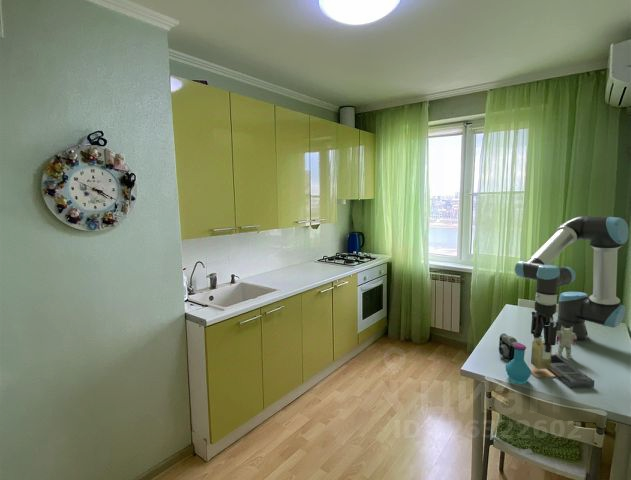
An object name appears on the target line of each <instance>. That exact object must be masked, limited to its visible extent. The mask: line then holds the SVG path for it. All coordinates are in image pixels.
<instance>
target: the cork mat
mask: <svg viewBox="0 0 631 480" xmlns="http://www.w3.org/2000/svg"><path fill="white" fill-rule="evenodd" d="M528 367H529V368H530V370H531V375H532V376H534V377H535V378H537V379H539V378H540V379H541V378H548V379H550V378H553V379H554V378H557V377H556V376H555V375H554V374H552V373H551V372H550V371H549V370H547V369H538V368H536V367H535V366H528Z"/></svg>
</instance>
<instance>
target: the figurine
mask: <svg viewBox="0 0 631 480" xmlns="http://www.w3.org/2000/svg"><path fill="white" fill-rule="evenodd" d="M561 330H562V331H557V333H556V345H558V349H557V351H555V354H556V355H558V356H559V357H561V358H562V356H563V353H564V348H565V353H564V354H565V357H566V358H568V359H572V355H571V354H572V346H573V347H576V346H577V344H576V343H577V342H578V341H577V340H576V339H577V337H576V334H575V333H573V332H572V331H573V327H571V328H568V329H566V328H564V327H563V326H561Z"/></svg>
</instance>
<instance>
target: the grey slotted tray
mask: <svg viewBox="0 0 631 480" xmlns="http://www.w3.org/2000/svg"><path fill="white" fill-rule="evenodd" d="M547 370H549V371H550V372H551V373H552V374H554V375H555V376H556V377H555V378H557V379H558V380H559V381H561V382H562V383H563V384H565V386H567V387H568V388H570V389H594V388H595V380H594V379H592V378H591V377H590V376H588V375H586V374H585V373H584V372H582V371H581V370H579V369H578V368H576V367H575V366H574V365H572V364H571V363H570V362H569V361H567V360H565V359H563V358H562V356H561V357H559V356H558V355H556V353H554V354H552V353H551V364H550V369H547Z"/></svg>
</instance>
